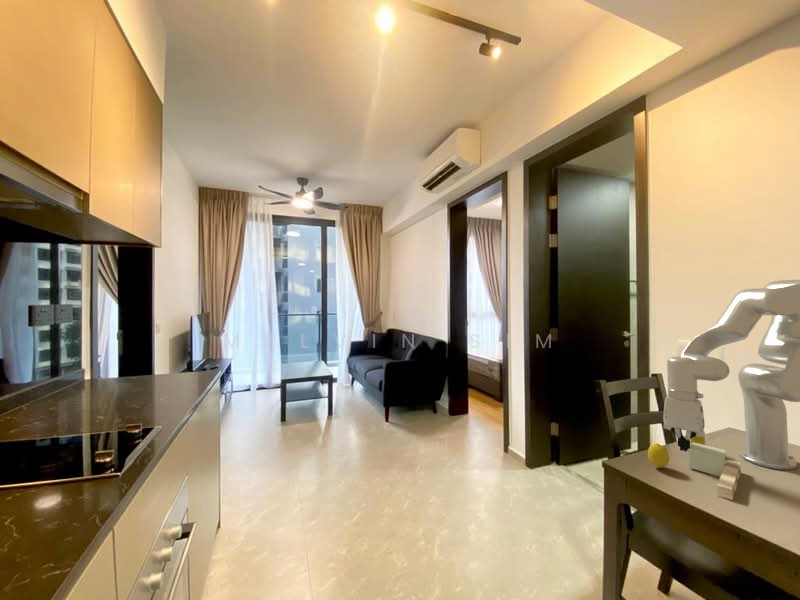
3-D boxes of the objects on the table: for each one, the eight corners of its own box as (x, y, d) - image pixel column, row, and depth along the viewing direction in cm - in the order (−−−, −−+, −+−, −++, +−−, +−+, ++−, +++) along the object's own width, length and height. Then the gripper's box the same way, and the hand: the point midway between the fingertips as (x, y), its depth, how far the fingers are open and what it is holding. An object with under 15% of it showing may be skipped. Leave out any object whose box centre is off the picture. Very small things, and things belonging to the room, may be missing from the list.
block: (692, 459, 115) (692, 442, 114) (725, 468, 109) (725, 450, 108) (689, 467, 110) (689, 449, 109) (723, 477, 104) (724, 458, 104)
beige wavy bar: (727, 469, 108) (727, 459, 108) (740, 472, 106) (740, 463, 106) (717, 495, 95) (717, 485, 95) (732, 500, 93) (732, 489, 93)
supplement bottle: (709, 452, 119) (708, 428, 119) (695, 453, 119) (694, 429, 119) (697, 446, 124) (696, 423, 124) (684, 447, 124) (683, 424, 124)
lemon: (673, 470, 110) (672, 445, 110) (661, 473, 108) (660, 448, 108) (656, 462, 115) (655, 438, 115) (644, 465, 113) (643, 441, 113)
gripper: (714, 396, 110) (716, 453, 110) (658, 388, 121) (659, 439, 121) (710, 402, 105) (712, 461, 105) (651, 392, 116) (653, 446, 117)
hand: (684, 449), depth 113 cm, fingers closed
